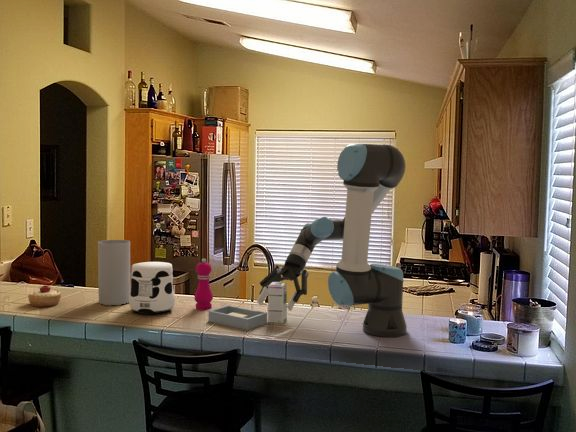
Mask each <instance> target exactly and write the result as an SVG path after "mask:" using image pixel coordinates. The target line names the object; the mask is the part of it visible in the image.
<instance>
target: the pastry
mask: <svg viewBox="0 0 576 432" xmlns="http://www.w3.org/2000/svg"><path fill="white" fill-rule="evenodd" d="M27 297H28V301H29V304H30V305H31V306H32V307H34V308H35V307H36V308H48V307H47V306H49V307H54V306H57V305H58V304H59V303H60V300H61V297H62V293H61V292H60V290H58V289H54V290H53V289H51V286H50V285H47V284H44V283H42V284H41V286H39V287H38V290H33V291H31V292H29V294H28V296H27ZM56 304H57V305H56ZM53 305H54V306H53Z"/></svg>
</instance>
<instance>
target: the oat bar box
mask: <svg viewBox="0 0 576 432" xmlns="http://www.w3.org/2000/svg"><path fill="white" fill-rule="evenodd" d="M229 315H234V316H239V317H243V318H248V315H243V314H238V313H233V312H232V313H229Z"/></svg>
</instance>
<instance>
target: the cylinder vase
mask: <svg viewBox="0 0 576 432" xmlns="http://www.w3.org/2000/svg"><path fill="white" fill-rule="evenodd" d="M97 263H98V264H97V266H98V268H97V269H98V270H97V273H98V274H97V275H98V276H97V277H98V285H97V286H98V303H99V304H100V305H102V304H103V305H102V306H107V305H117V306H122V305H121V304H124V305H127V304H129V296H130V292H131V241H130V240H128V239H127V240H126V239H106V240H99V241H97ZM126 303H127V304H126Z"/></svg>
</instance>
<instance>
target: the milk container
mask: <svg viewBox="0 0 576 432" xmlns="http://www.w3.org/2000/svg"><path fill="white" fill-rule="evenodd" d="M173 272H174V271H173V264H172V263H170V262H165V261H145V262H143V261H142V262H138V263H137V262H136V263H134V264H132V265H131V269H130V284H131V285H130V288H131V292H130V296H129V303H128V305H129V308H130V309H131V310H132V311H133V312H136V313H139V314H145V315H146V314H148V315H149V314H150V315H151V314H153V315H154V314H162V313H165V312H168V311H170V310H172V309H173V308H174V306H175V304H176V303H175V302H176V295H175V292H174V291H175V290H174V285H173V279H174V275H173Z"/></svg>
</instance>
